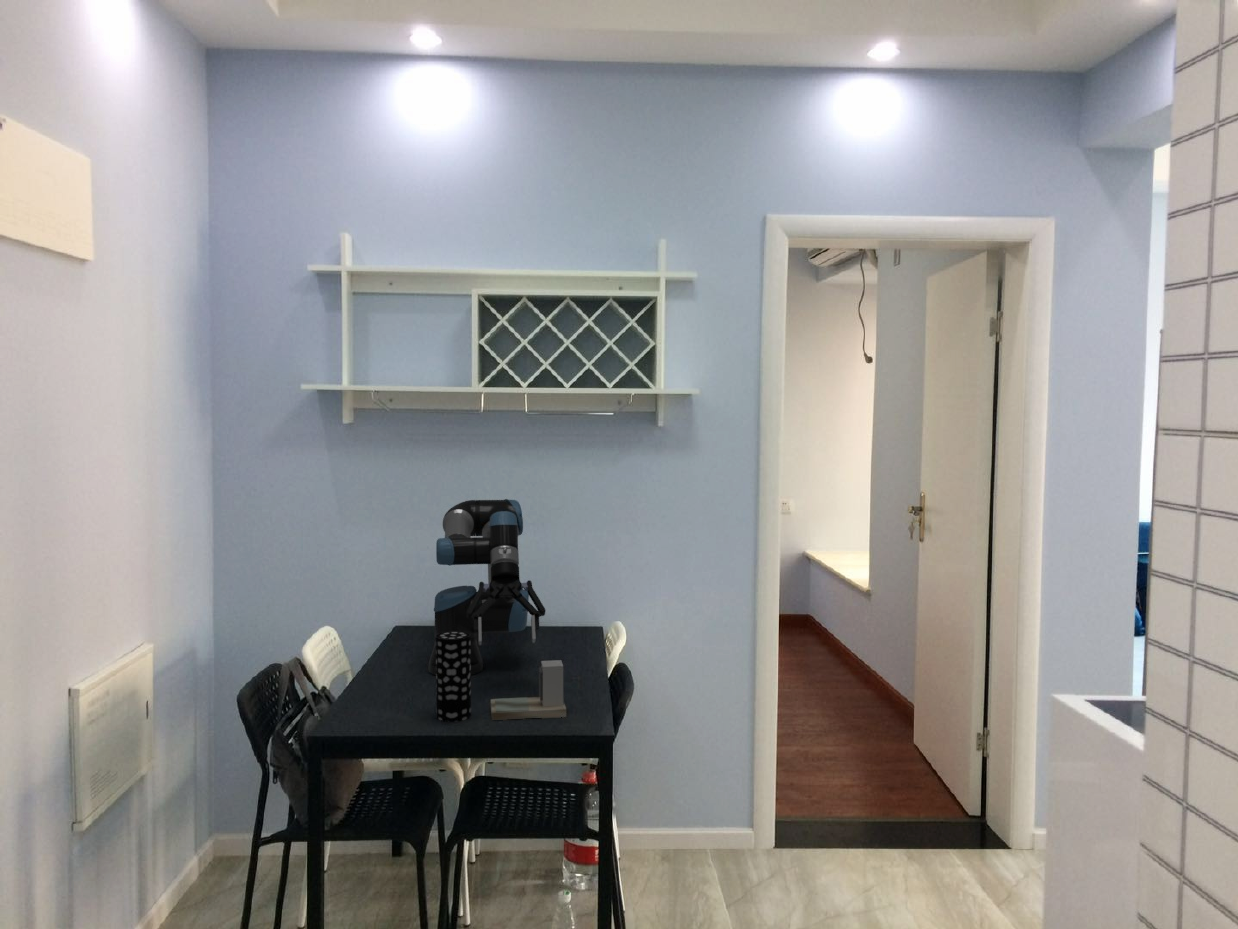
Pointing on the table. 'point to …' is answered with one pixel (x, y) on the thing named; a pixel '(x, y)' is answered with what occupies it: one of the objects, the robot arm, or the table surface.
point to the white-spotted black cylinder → (453, 676)
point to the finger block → (551, 683)
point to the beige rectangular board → (524, 709)
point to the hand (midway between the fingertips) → (507, 642)
